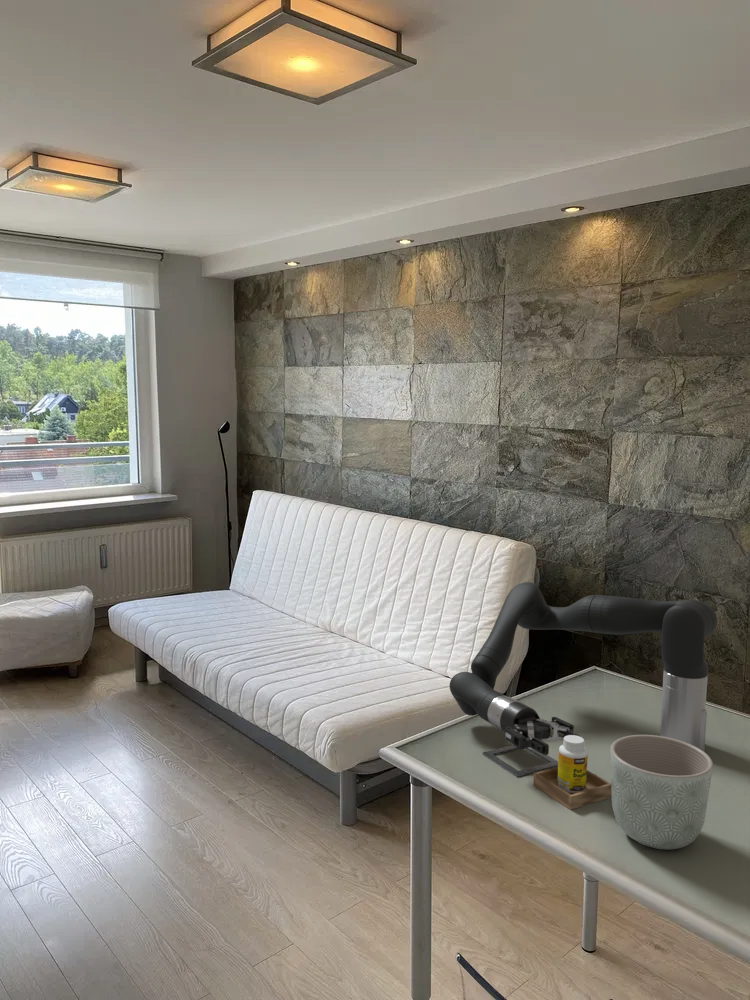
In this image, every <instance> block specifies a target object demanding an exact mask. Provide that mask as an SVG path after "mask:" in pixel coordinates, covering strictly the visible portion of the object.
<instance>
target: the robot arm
mask: <svg viewBox="0 0 750 1000" xmlns="http://www.w3.org/2000/svg"><path fill="white" fill-rule="evenodd" d="M717 625H718V619H717V614H716V613H715V611H714V609H713V608H712V607H711V606H709V605H708V604H707V603H706V602H703V601H699V600H697V599H685V600H684V599H682V600H680V599H679V600H648V599H641V598H635V597H626V596H625V597H624V596H616V595H604V594H592V595H591V594H589V595H587V596H584V597H582V598H581V599H578V600H576V602H573V603H572V604H570V605H568V606H564V607H563V606H559V607H558V606H550V605H548V604H547V602H546V600H545V598H544V595H543V594H542V591H541V590H540V587H539V586H538V585H537V584H536V583H534V582H531V581H526V582H520V583H518V584H516V585H515V586H513V587H512V589H510V591H508V594H507V596H506V597H505V600H504V602H503V604H502V606H501V609H500V611H499V613H498V616H497V618H496V620H495V623H494V625H493V627H492V630H491V632H490V634H489V635H488V637H487V639H486V640H485V642H484V644H482V647H481V648H480V649H479V651H478V652H477V653H476V656H474V658H473V660H472V662H471V664H470V669H471V672H469V671H460V672H458V673H456V674H454V675H453V676H452V678H451V679H450V681H449V691H450V694H451V695H452V697H453V698H454V700H455V701H456V703H457V705H458V706H459V708H460V709H461V710H462V712H463V713H464V714H465V715H466V716H470V717H471V716H473V717H474V716H477V715H478V717H479V718H481V719H482V720H483V721H485V722H488V723H489V724H491V725H492V726H494V728H496V729H498V730H499V731H501V732H503V734H504V735H505V741H507V742H509V743H510V744H511V745H514V746H516V747H517V748H519V749H518V750H521V751H524V750H526V748H525V747H528V749H534V750H536V751H538V752H539V753H541V754H543V755H548V756H549V753H550V752H549V751H550V745H549V744H548V743H546V741H545V742H544V740H550V741H558V740H560V741H561V740H563V741H564V737H565V736H567V735H576V736H579V737H581V735H579V734H577V733H575V732H574V730H575V724H572V723H569V722H568V721H565V720H564V719H561V718H559V717H557V716H551V720H550V721H548V720H545V719H543V718H540V716H539V714H538V712H537V711H536V710H535V709H534V708H532V707H530V706H529V705H526V704H524V703H522V702H520V701H519V700H517V699H515V698H512V697H510V696H506V695H504V694H503V693H501V692H499V691H497V690H495V686H496V682H497V679H498V676H499V675H500V674H501V672H502V670H503V669H504V667H506V664H507V663H508V660H509V658H510V656H511V653H512V650H513V645H514V640H515V635H516V631H517V628H518V626H519V627H520V628H522V629H526V630H535V631H536V630H538V631H540V630H543V631H545V630H547V631H550V630H558V631H559V630H563V631H579V632H586V633H587V632H589V633H594V634H595V633H596V634H604V635H605V634H606V635H628V634H629V635H630V634H641V633H652V632H655V633H661V659H662V661H663V674H662V676H663V677H662V694H661V695H662V696H661V697H662V698H661V709H660V726H659V727H660V728H659V736H663V737H668V738H673V739H676V740H680V741H683V742H686V743H688V744H691V745H693V746H695V747H697V748H699V749H700V750H702V751H704V752H705V749H706V748H705V747H706V731H707V717H708V711H707V709H706V706H707V705H706V704H707V689H708V688H707V687H708V675H709V664H708V663H709V662H707V660H705V659H704V657H705V656H704V654H705V653H704V652H705V649H704V648H705V639H707V638H708V637H710V636H711V635H712V633H714V632H715V631H714V630H715V629H716V627H717ZM551 729H552V730H553V735H552V734H551V732H552V730H551ZM528 749H527V750H528Z"/></svg>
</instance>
